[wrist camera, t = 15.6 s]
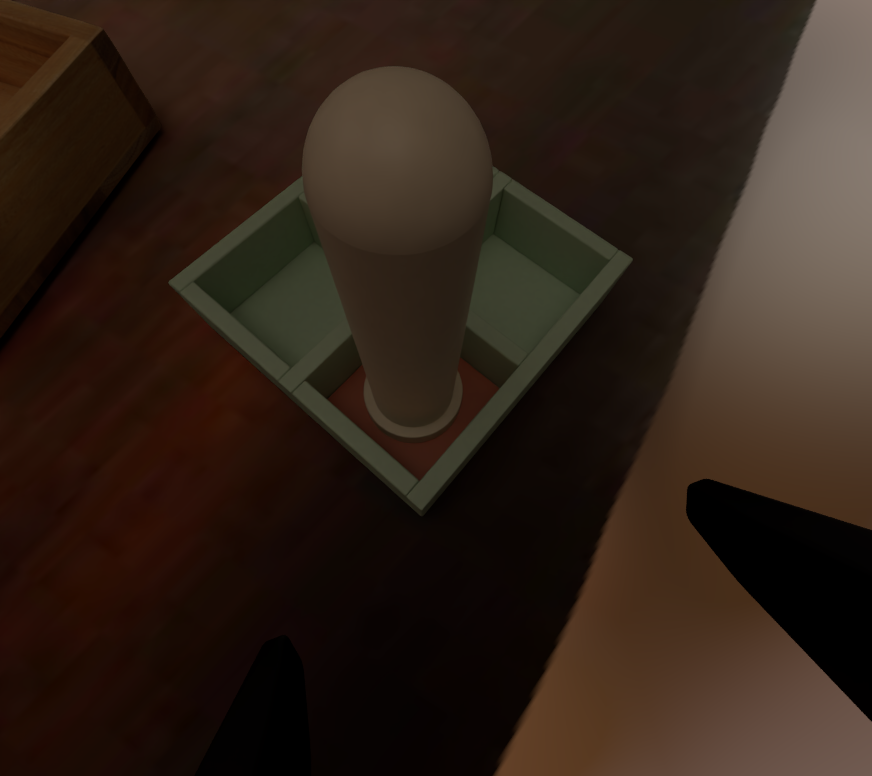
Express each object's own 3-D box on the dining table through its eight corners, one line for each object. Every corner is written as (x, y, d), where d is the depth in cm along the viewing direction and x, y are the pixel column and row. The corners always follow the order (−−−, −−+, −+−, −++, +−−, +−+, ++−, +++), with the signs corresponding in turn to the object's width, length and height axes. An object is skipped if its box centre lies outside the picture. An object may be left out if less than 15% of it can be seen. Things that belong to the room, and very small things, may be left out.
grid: (600, 304, 21) (633, 258, 18) (422, 517, 18) (421, 510, 14) (399, 163, 24) (395, 100, 21) (209, 325, 20) (166, 281, 17)
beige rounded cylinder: (453, 450, 18) (523, 230, 5) (356, 434, 18) (203, 182, 5) (466, 361, 19) (548, 17, 7) (377, 347, 19) (290, -18, 7)
